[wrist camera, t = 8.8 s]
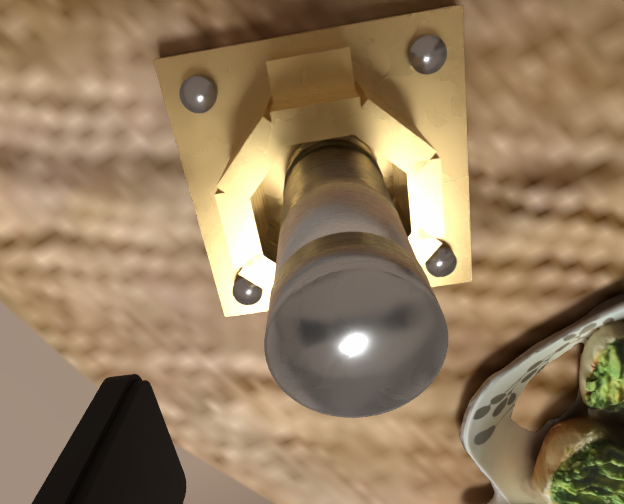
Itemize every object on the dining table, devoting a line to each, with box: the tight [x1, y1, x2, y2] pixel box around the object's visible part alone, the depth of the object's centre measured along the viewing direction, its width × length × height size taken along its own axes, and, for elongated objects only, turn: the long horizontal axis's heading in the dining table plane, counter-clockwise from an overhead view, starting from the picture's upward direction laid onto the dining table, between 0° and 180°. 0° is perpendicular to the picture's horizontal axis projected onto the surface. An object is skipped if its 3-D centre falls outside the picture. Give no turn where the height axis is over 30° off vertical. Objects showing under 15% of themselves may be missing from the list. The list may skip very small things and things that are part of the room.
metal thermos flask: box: [264, 136, 448, 418], centre depth 17 cm, size 4×4×12 cm
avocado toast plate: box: [459, 293, 624, 504], centre depth 29 cm, size 19×18×5 cm
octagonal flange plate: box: [153, 5, 472, 317], centre depth 21 cm, size 12×12×5 cm
